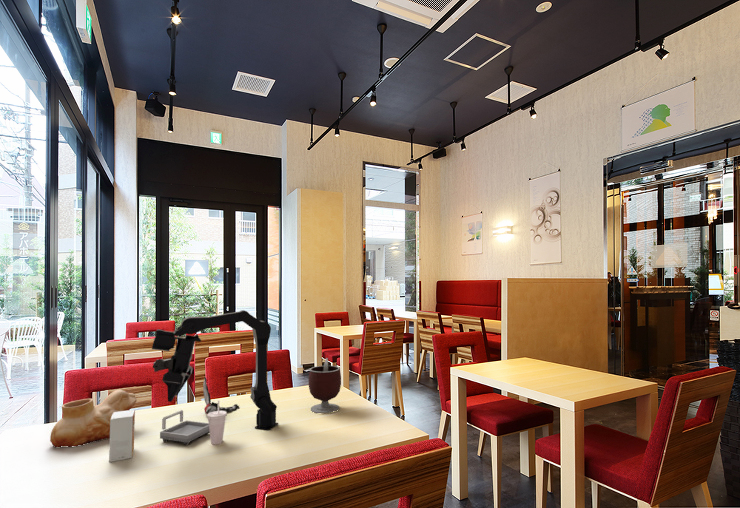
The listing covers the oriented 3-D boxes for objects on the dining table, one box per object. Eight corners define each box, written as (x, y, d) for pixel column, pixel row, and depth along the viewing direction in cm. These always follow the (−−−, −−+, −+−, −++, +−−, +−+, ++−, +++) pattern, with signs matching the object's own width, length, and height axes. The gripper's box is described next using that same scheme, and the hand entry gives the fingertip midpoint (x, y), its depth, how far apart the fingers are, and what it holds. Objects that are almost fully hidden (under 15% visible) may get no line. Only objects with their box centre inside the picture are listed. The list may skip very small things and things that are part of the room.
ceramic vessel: (141, 431, 152) (142, 390, 153) (54, 453, 133) (55, 407, 134) (129, 422, 162) (130, 384, 162) (46, 442, 142) (47, 399, 143)
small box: (132, 458, 129) (133, 416, 129) (108, 462, 126) (109, 419, 127) (134, 448, 136) (135, 408, 137) (112, 452, 133) (112, 411, 134)
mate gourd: (339, 414, 167) (339, 365, 169) (306, 414, 168) (305, 365, 169) (342, 403, 183) (342, 357, 184) (312, 403, 183) (311, 358, 184)
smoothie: (219, 446, 137) (220, 403, 137) (202, 445, 138) (203, 403, 139) (230, 439, 143) (230, 398, 144) (213, 438, 144) (214, 397, 145)
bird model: (216, 438, 170) (233, 410, 183) (234, 425, 164) (250, 396, 177) (177, 410, 166) (197, 383, 179) (193, 395, 160) (213, 368, 173)
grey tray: (212, 433, 148) (212, 411, 149) (187, 446, 137) (187, 422, 138) (184, 429, 153) (184, 408, 153) (157, 441, 141) (158, 418, 142)
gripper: (165, 346, 151) (154, 389, 148) (151, 352, 133) (139, 402, 130) (197, 350, 153) (187, 393, 151) (187, 357, 135) (176, 406, 133)
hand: (172, 398), depth 141 cm, fingers open, 9 cm apart
